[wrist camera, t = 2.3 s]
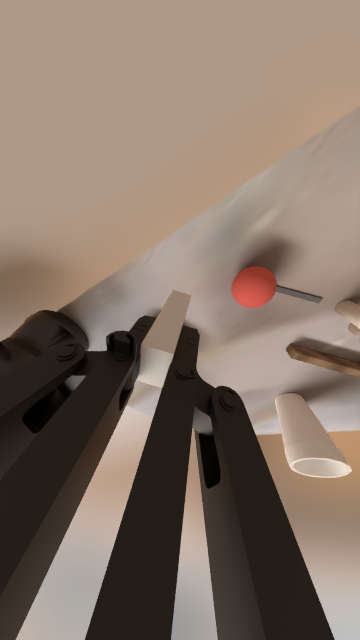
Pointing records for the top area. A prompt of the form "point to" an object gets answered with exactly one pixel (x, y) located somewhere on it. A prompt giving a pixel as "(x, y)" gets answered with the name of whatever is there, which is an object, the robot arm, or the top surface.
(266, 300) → the ball
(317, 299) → the thin gray bar
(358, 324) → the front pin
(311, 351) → the rail
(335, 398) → the top surface
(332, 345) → the top surface
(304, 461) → the foam cup
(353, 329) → the pin
